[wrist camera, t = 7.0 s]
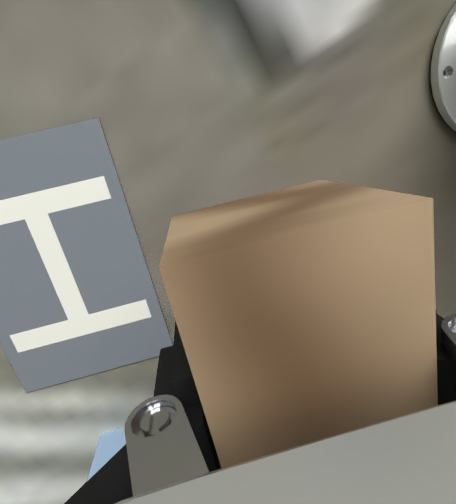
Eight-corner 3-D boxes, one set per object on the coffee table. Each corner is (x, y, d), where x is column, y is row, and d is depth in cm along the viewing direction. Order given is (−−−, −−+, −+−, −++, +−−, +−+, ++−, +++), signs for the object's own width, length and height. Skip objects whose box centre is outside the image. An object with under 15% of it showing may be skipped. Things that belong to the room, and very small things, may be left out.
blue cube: (149, 419, 32) (144, 464, 27) (164, 455, 34) (160, 504, 29) (101, 433, 32) (86, 481, 27) (117, 469, 33) (106, 521, 29)
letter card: (99, 118, 24) (98, 117, 24) (174, 350, 30) (174, 351, 30) (-93, 161, 23) (-95, 161, 23) (26, 391, 29) (25, 392, 29)
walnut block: (321, 179, 10) (432, 198, 6) (349, 395, 13) (440, 531, 8) (172, 216, 10) (158, 267, 5) (232, 428, 13) (258, 586, 8)
